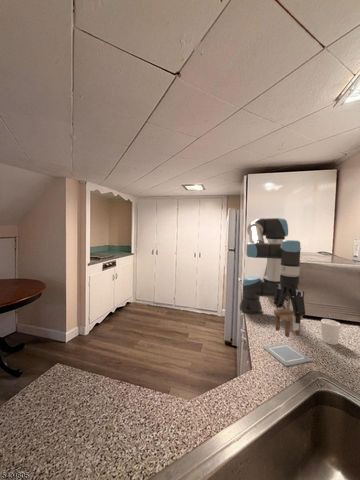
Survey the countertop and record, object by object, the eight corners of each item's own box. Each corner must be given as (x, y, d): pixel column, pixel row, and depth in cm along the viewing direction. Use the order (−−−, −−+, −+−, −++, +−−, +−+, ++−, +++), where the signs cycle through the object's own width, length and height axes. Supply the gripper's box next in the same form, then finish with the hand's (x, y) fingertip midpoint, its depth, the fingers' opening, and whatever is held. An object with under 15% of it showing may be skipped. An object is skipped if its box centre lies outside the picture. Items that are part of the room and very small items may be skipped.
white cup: (339, 347, 98) (340, 327, 98) (319, 342, 103) (320, 322, 102) (339, 340, 104) (340, 321, 104) (320, 335, 109) (321, 317, 109)
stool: (273, 329, 94) (274, 310, 94) (287, 327, 96) (288, 308, 96) (287, 337, 86) (287, 317, 86) (301, 335, 88) (302, 315, 88)
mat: (262, 347, 96) (262, 346, 96) (286, 343, 100) (286, 342, 100) (285, 366, 83) (286, 365, 83) (312, 361, 87) (312, 360, 87)
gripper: (266, 270, 99) (264, 316, 100) (303, 280, 79) (300, 338, 80) (278, 270, 101) (277, 315, 102) (317, 279, 81) (315, 335, 82)
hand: (287, 325), depth 91 cm, fingers closed on stool, 8 cm apart
